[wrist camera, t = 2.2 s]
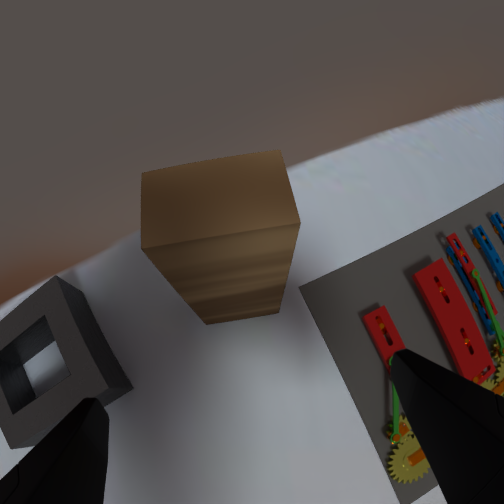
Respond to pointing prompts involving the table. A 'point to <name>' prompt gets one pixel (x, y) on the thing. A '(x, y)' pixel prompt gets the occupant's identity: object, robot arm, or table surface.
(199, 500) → the table surface
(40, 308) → the grey block holder
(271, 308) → the brown wooden block
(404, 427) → the gear board
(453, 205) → the table surface
